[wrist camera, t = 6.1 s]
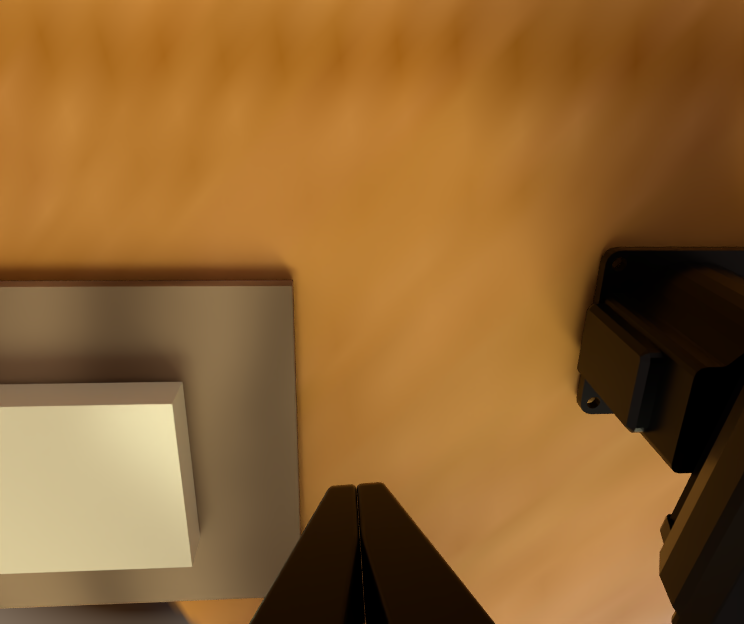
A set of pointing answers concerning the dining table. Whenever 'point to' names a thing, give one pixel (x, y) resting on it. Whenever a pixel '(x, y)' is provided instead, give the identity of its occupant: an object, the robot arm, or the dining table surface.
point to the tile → (95, 478)
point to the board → (203, 411)
